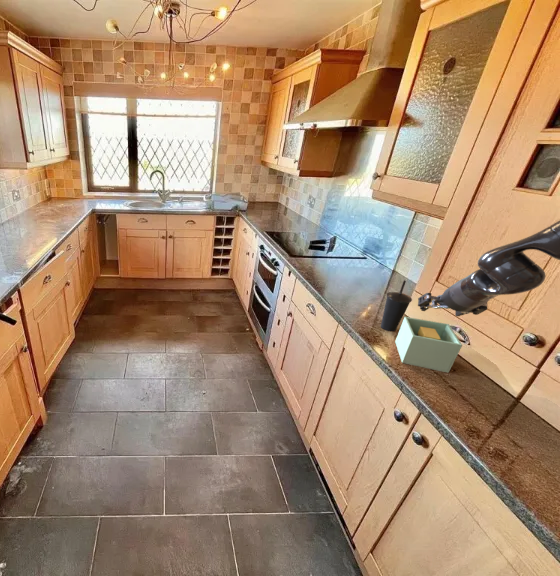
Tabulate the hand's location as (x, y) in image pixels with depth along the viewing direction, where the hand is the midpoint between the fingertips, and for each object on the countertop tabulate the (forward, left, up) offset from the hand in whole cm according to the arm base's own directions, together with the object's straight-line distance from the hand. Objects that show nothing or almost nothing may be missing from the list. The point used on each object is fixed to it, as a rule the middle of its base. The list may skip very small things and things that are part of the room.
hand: (439, 310), depth 95 cm
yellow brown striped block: (0, +1, -17) cm, 17 cm away
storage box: (0, +1, -17) cm, 17 cm away
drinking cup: (+7, -14, -18) cm, 24 cm away
